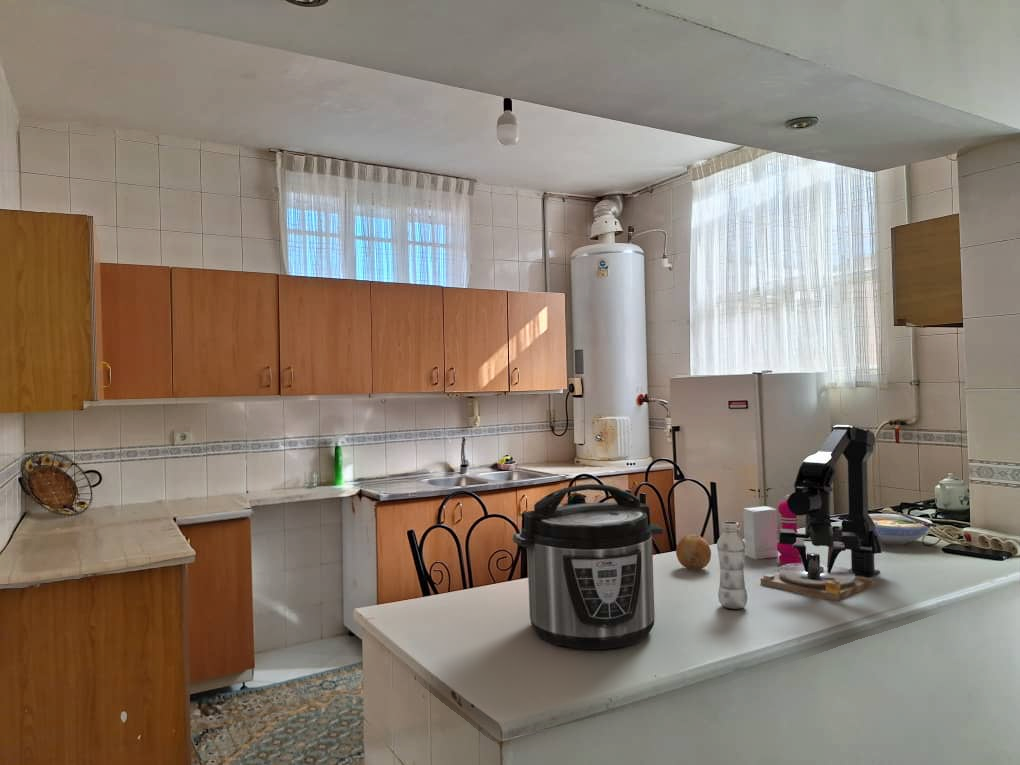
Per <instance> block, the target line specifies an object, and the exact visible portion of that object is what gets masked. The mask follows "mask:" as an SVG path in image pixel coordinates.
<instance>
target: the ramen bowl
mask: <svg viewBox="0 0 1020 765" xmlns="http://www.w3.org/2000/svg"><path fill="white" fill-rule="evenodd" d="M894 513H896V514H893V513H892V514H891V513H868V514H869V516H870V517H871V519H872V520H873V522H874V523H875V530H876V532H877V534H878V536H879V538H880V540H881V542H882V544H888V545H896V546H897V545H905V544H906V543H909V542H914V541H917V540H919V539H921V538H922V537H923V536H924V535H925V534H926V533H927V532H928V531H929V530H930V528H931V527H933V528H936V527H937V524H934V523H933V522H932V521H931V520H930V519H927V518H923V517H918V516H911V515H906V514H904V513H902V512H901V513H900V512H898V511H897V512H894Z"/></svg>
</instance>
